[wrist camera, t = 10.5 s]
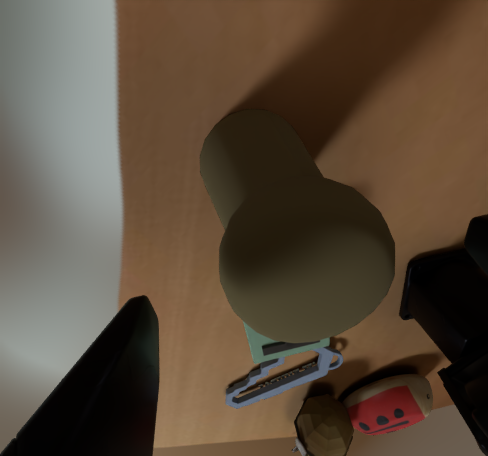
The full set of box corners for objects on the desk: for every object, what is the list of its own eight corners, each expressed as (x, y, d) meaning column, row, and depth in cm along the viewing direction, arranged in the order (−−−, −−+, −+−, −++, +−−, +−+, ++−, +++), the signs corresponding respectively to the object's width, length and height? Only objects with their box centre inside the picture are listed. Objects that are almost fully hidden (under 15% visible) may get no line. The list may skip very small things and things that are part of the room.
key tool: (208, 375, 27) (233, 404, 29) (208, 384, 26) (233, 413, 28) (325, 323, 26) (343, 358, 28) (329, 331, 25) (347, 366, 27)
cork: (267, 224, 19) (337, 387, 10) (181, 185, 17) (166, 349, 8) (322, 142, 17) (484, 254, 7) (232, 85, 15) (300, 141, 5)
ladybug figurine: (429, 384, 33) (451, 419, 30) (348, 413, 35) (360, 449, 32) (416, 360, 29) (439, 397, 26) (327, 394, 31) (339, 432, 29)
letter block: (242, 306, 23) (254, 367, 18) (230, 256, 20) (240, 314, 16) (304, 291, 23) (331, 348, 18) (300, 239, 20) (330, 292, 16)
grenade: (330, 370, 30) (316, 408, 38) (283, 405, 27) (278, 437, 35) (377, 428, 26) (350, 456, 34) (326, 474, 24) (310, 492, 32)
